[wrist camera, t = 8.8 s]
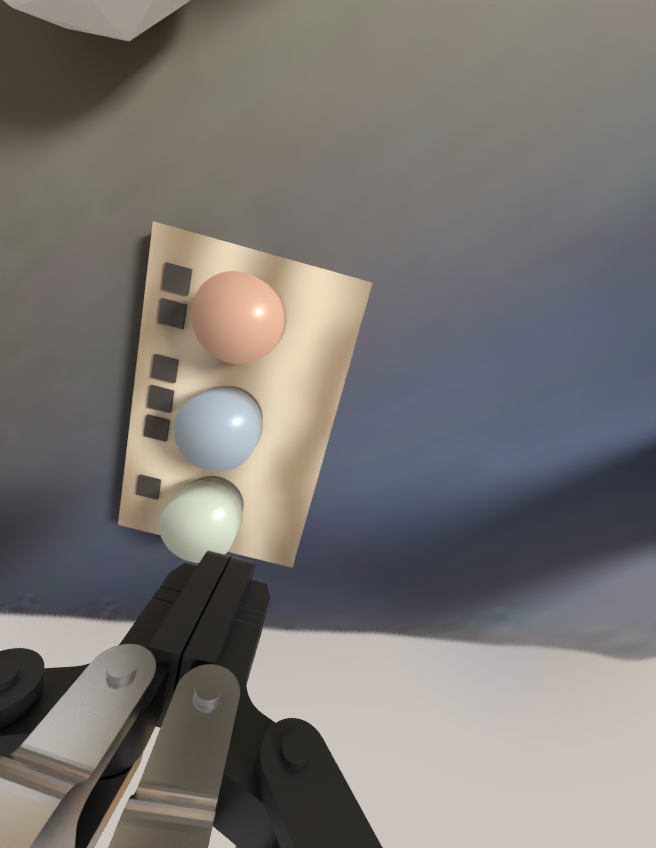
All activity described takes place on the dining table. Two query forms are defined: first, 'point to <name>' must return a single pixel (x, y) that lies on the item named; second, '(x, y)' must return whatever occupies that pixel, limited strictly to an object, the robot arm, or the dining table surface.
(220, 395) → the three dot button
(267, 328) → the two dot button
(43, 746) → the robot arm
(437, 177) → the dining table surface
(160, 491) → the button board
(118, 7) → the geometric shape
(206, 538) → the pale green button
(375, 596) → the dining table surface
